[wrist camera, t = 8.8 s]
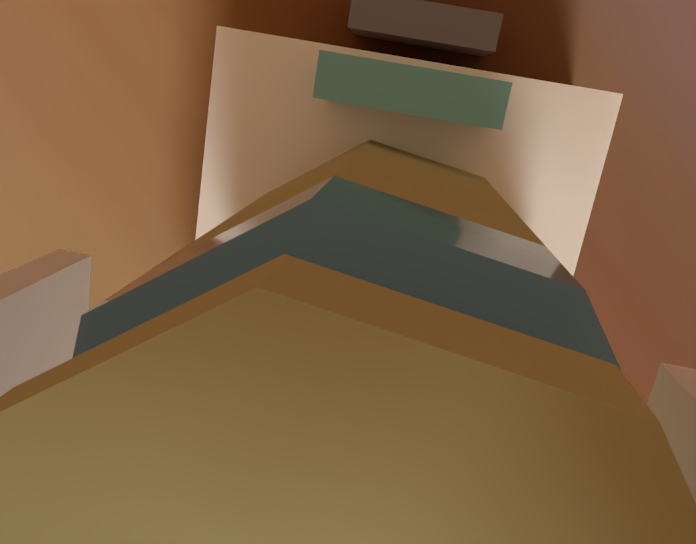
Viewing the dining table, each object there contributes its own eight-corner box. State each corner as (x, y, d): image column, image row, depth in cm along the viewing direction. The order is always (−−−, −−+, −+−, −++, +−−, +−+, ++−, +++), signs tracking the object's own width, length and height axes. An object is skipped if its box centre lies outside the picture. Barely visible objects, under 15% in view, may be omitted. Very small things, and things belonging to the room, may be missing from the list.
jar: (366, 72, 19) (219, -7, 4) (591, 272, 20) (1070, 739, 5) (187, 293, 21) (-282, 704, 7) (395, 462, 22) (363, 1137, 8)
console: (223, 370, 29) (147, 479, 20) (317, -415, 21) (256, -746, 13) (489, 422, 28) (521, 556, 20) (689, -366, 20) (877, -679, 12)
